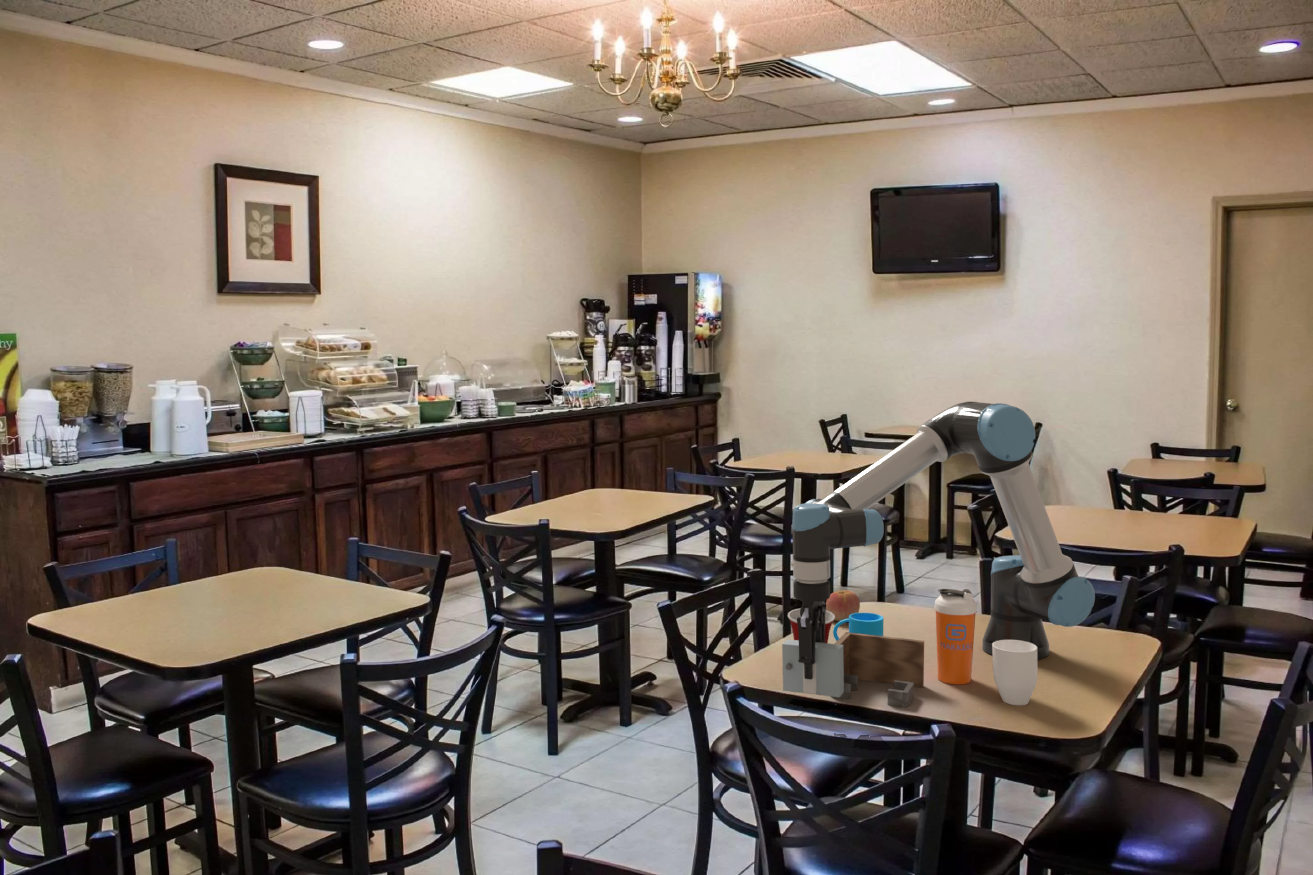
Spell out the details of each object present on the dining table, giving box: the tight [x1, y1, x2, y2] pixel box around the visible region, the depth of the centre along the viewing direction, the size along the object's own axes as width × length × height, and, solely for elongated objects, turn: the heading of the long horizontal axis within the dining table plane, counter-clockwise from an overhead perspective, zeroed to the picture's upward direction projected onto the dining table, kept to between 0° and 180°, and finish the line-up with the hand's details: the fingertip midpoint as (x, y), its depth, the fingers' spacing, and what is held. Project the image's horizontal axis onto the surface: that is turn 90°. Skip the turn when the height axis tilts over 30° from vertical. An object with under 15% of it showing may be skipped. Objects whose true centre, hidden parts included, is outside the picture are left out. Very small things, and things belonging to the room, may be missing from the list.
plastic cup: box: [787, 607, 835, 643], centre depth 244 cm, size 11×11×12 cm
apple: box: [825, 590, 861, 622], centre depth 281 cm, size 9×9×8 cm
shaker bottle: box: [934, 588, 978, 685], centre depth 232 cm, size 9×9×20 cm
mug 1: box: [832, 612, 884, 642], centre depth 256 cm, size 12×8×8 cm
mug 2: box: [991, 640, 1038, 706], centre depth 220 cm, size 12×9×12 cm
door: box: [781, 639, 844, 698], centre depth 219 cm, size 12×4×10 cm, turn 65°
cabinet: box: [834, 631, 925, 708], centre depth 225 cm, size 17×15×10 cm
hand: (812, 689), depth 220 cm, fingers closed on door, 3 cm apart
